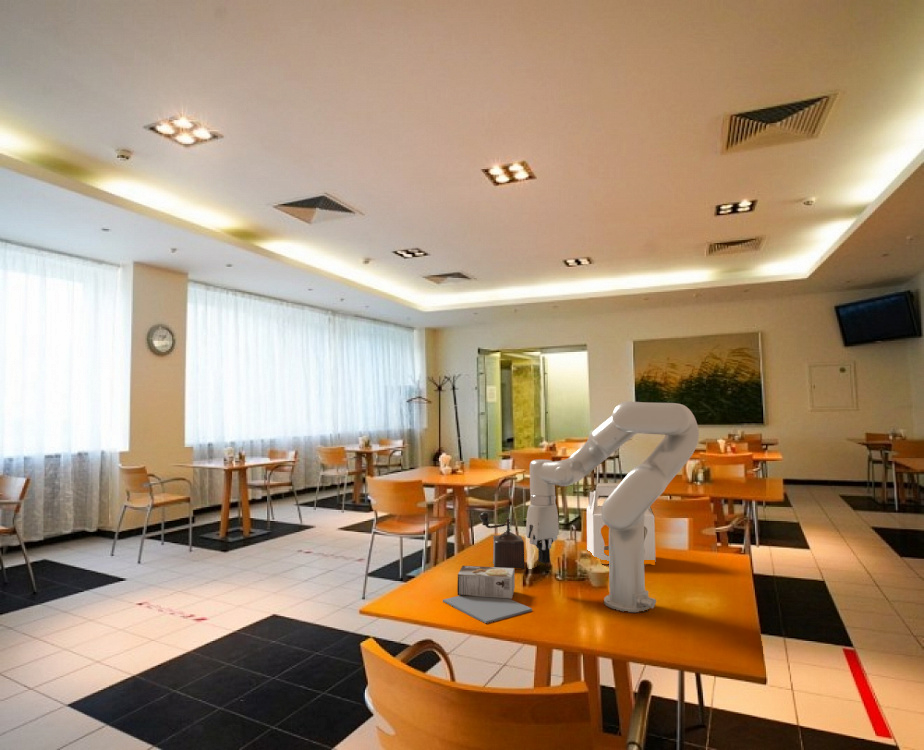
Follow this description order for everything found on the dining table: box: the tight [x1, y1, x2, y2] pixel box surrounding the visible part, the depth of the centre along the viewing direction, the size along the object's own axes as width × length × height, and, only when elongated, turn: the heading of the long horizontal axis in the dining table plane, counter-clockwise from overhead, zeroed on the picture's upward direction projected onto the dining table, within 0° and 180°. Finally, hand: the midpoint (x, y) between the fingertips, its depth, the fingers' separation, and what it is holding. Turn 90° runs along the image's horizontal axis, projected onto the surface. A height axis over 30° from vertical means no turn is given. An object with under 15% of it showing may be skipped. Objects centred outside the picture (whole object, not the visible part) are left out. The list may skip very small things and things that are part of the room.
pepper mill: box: [478, 511, 525, 570], centre depth 195 cm, size 16×11×18 cm
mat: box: [442, 595, 533, 624], centre depth 152 cm, size 20×16×1 cm
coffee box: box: [456, 565, 516, 599], centre depth 163 cm, size 9×6×16 cm
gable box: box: [586, 482, 656, 561], centre depth 202 cm, size 22×13×28 cm, turn 87°
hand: (544, 562), depth 165 cm, fingers closed
